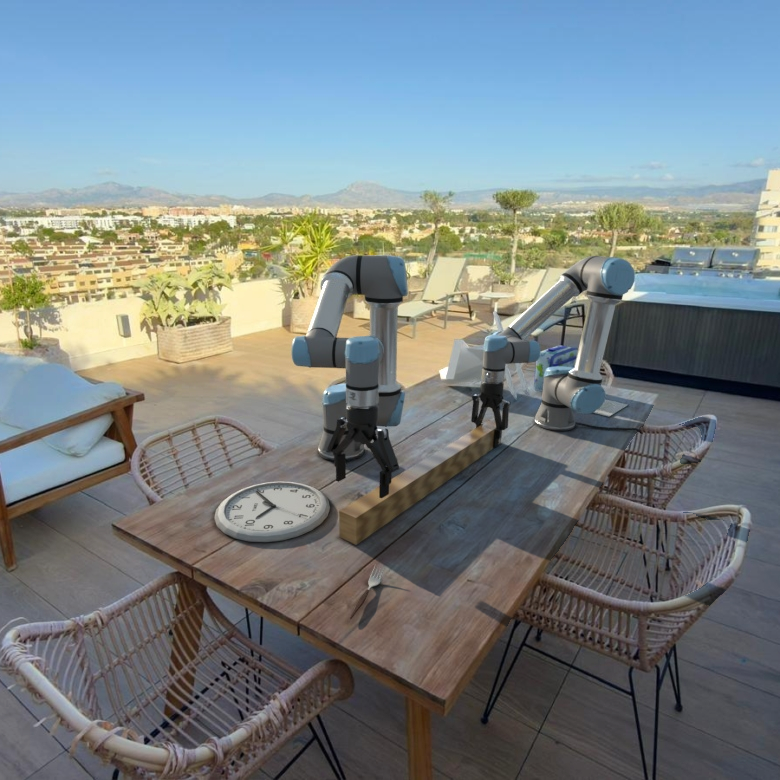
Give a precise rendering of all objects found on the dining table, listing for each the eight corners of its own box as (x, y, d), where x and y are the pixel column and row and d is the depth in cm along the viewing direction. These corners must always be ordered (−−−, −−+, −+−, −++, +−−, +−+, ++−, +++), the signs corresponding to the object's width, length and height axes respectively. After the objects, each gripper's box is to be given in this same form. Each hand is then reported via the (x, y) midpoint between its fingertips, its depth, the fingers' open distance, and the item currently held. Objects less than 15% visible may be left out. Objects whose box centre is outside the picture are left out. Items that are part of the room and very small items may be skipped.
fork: (344, 619, 101) (343, 610, 101) (374, 571, 116) (374, 563, 115) (356, 623, 100) (356, 614, 100) (385, 574, 115) (385, 566, 114)
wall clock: (328, 534, 126) (200, 538, 124) (328, 540, 127) (201, 544, 124) (331, 477, 155) (227, 479, 152) (331, 482, 155) (227, 484, 153)
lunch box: (550, 398, 235) (555, 353, 229) (529, 393, 243) (534, 349, 236) (577, 387, 253) (583, 345, 247) (557, 382, 260) (562, 341, 254)
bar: (487, 439, 189) (488, 420, 187) (501, 443, 186) (502, 423, 184) (339, 537, 128) (339, 510, 126) (356, 545, 125) (356, 517, 123)
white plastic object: (461, 429, 252) (437, 405, 227) (444, 352, 274) (420, 323, 250) (535, 404, 240) (518, 377, 215) (510, 326, 262) (492, 293, 237)
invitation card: (608, 416, 214) (573, 407, 224) (608, 416, 214) (573, 408, 224) (628, 404, 229) (594, 396, 238) (628, 405, 229) (594, 397, 238)
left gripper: (311, 397, 125) (314, 478, 131) (396, 420, 111) (394, 509, 117) (333, 390, 131) (334, 468, 137) (415, 411, 117) (413, 497, 123)
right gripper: (463, 378, 179) (459, 441, 186) (513, 388, 169) (507, 454, 176) (473, 374, 185) (469, 435, 192) (522, 383, 174) (516, 447, 181)
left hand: (361, 487), depth 127 cm, fingers open, 13 cm apart
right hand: (487, 444), depth 184 cm, fingers closed on bar, 5 cm apart
